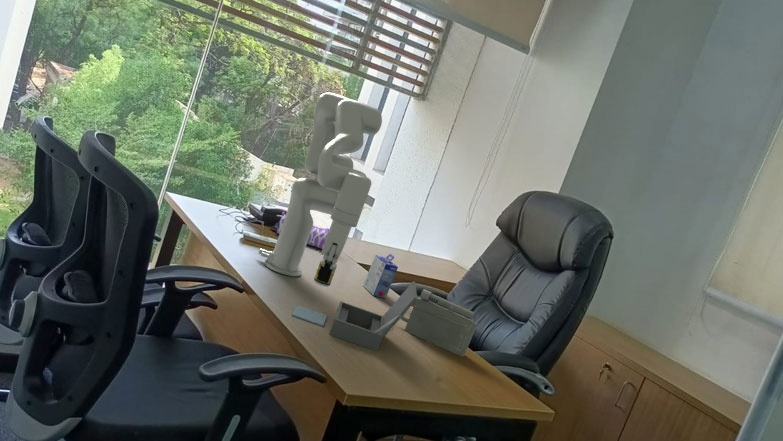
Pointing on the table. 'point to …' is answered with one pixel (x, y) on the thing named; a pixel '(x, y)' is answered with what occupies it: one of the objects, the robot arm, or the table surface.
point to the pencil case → (316, 235)
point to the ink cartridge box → (380, 276)
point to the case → (370, 320)
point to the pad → (309, 315)
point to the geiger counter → (441, 323)
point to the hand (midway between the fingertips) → (323, 278)
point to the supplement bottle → (330, 275)
